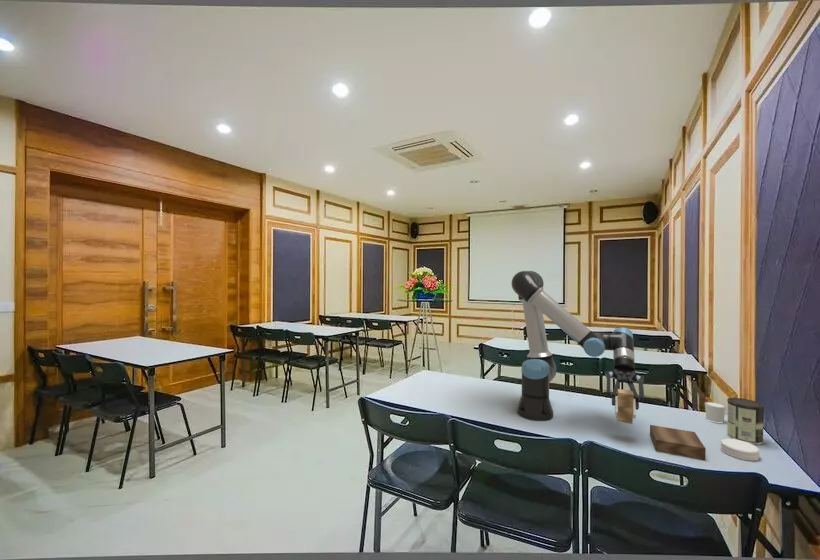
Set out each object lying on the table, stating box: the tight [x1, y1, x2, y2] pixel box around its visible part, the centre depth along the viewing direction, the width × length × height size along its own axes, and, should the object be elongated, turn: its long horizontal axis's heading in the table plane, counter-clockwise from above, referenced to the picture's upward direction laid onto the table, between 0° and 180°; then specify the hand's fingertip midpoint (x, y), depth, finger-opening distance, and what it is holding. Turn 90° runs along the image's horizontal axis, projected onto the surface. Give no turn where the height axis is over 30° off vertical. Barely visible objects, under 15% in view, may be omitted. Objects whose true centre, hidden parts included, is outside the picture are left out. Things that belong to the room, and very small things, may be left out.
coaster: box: [720, 438, 761, 462], centre depth 125 cm, size 10×10×4 cm
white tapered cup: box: [704, 401, 727, 422], centre depth 153 cm, size 7×7×7 cm
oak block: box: [615, 388, 634, 425], centre depth 137 cm, size 5×5×11 cm
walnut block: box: [649, 424, 707, 461], centre depth 130 cm, size 14×14×4 cm
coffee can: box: [726, 397, 765, 446], centre depth 137 cm, size 10×10×14 cm
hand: (625, 415), depth 133 cm, fingers closed on oak block, 5 cm apart
